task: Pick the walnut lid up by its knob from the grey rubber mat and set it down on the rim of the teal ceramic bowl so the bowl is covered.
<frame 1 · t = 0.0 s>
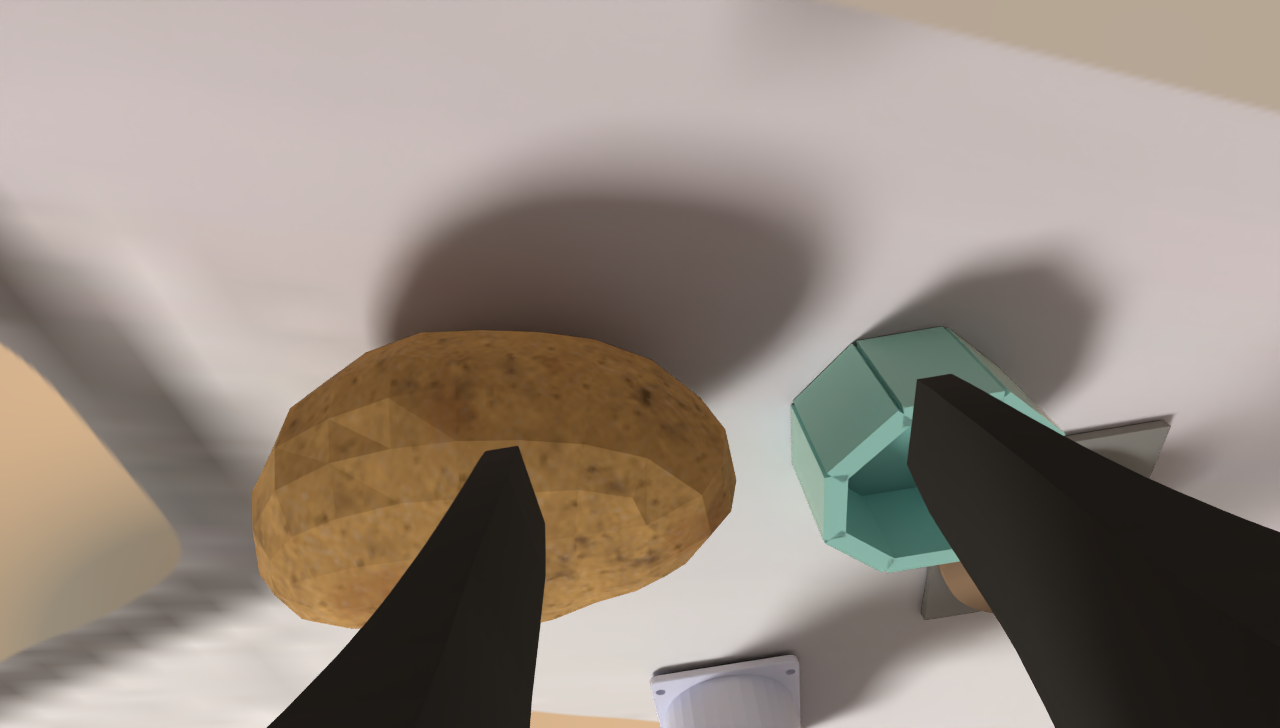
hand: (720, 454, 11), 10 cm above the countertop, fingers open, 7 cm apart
bowl: (891, 419, 24), on the countertop
potato: (519, 393, 23), on the countertop
lid: (1073, 583, 26), on the mat
mat: (1028, 527, 29), on the countertop
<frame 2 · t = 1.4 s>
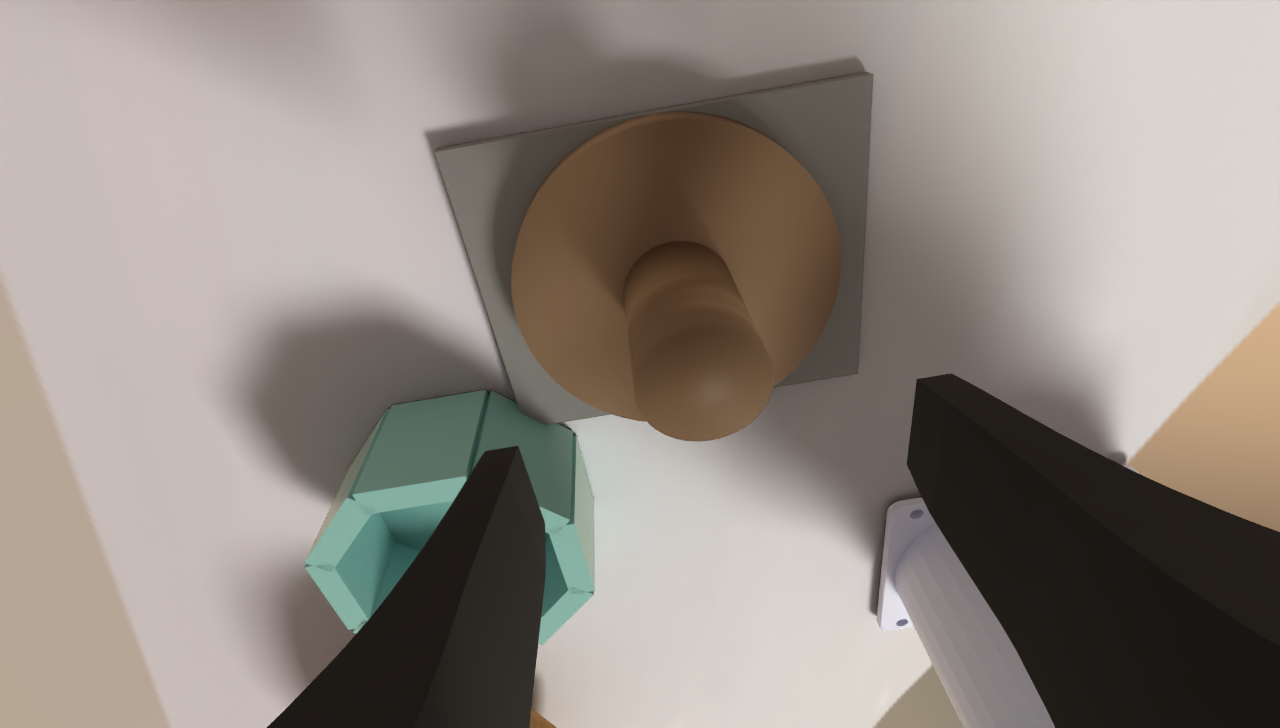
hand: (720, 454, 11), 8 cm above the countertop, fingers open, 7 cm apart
bowl: (475, 486, 22), on the countertop
lid: (686, 323, 15), on the mat
mat: (672, 271, 18), on the countertop
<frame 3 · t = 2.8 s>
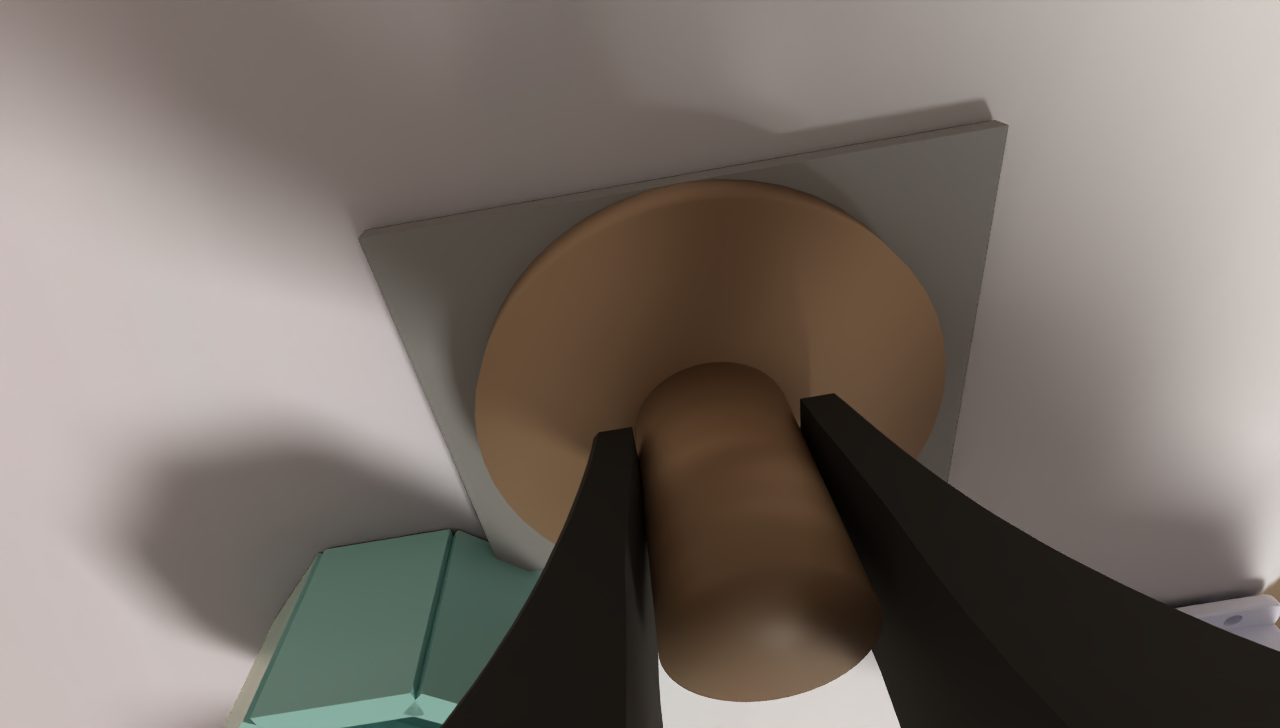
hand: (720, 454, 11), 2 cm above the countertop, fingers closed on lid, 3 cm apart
bowl: (441, 635, 17), on the countertop
lid: (730, 491, 10), on the mat, touching gripper
mat: (701, 385, 13), on the countertop
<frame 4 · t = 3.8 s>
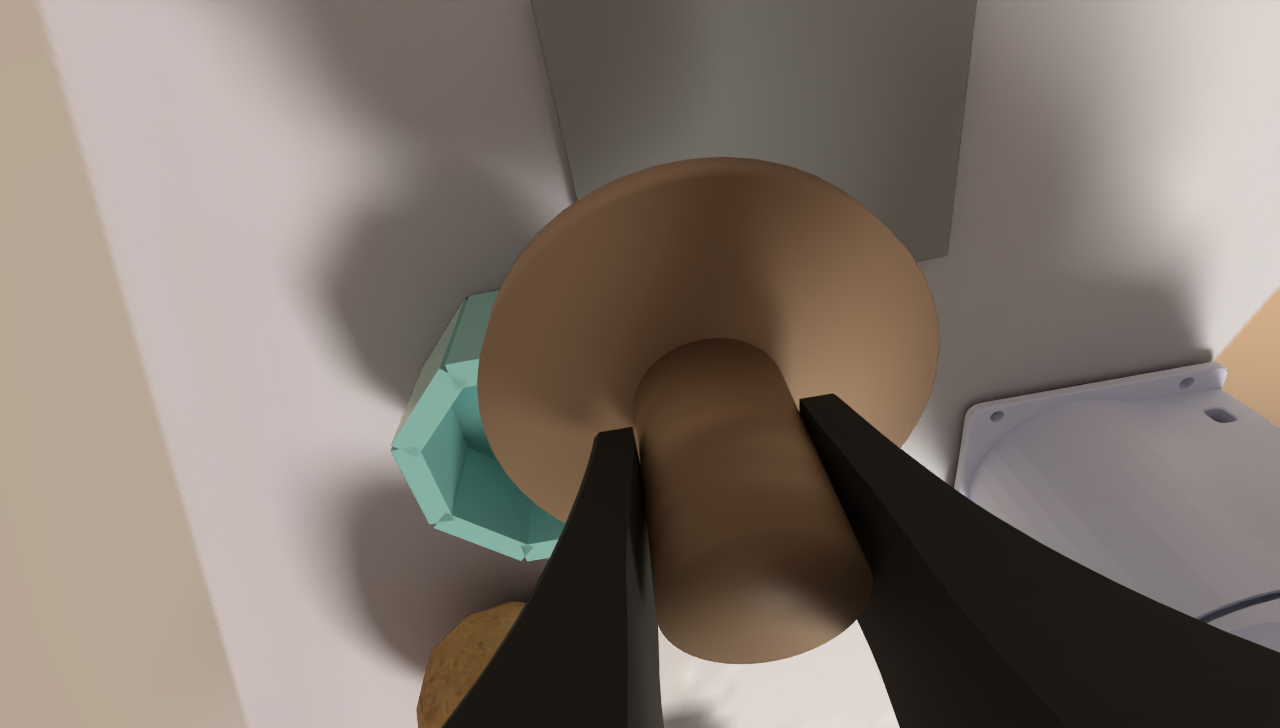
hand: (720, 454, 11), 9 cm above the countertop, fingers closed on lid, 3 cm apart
bowl: (548, 387, 22), on the countertop
potato: (540, 632, 30), on the countertop
lid: (726, 464, 11), point 10 cm above the countertop, touching gripper
mat: (763, 140, 18), on the countertop
when the fingers open (7 cm above the countertop, at t = 4.9 s): lid stays where it is, resting on bowl.
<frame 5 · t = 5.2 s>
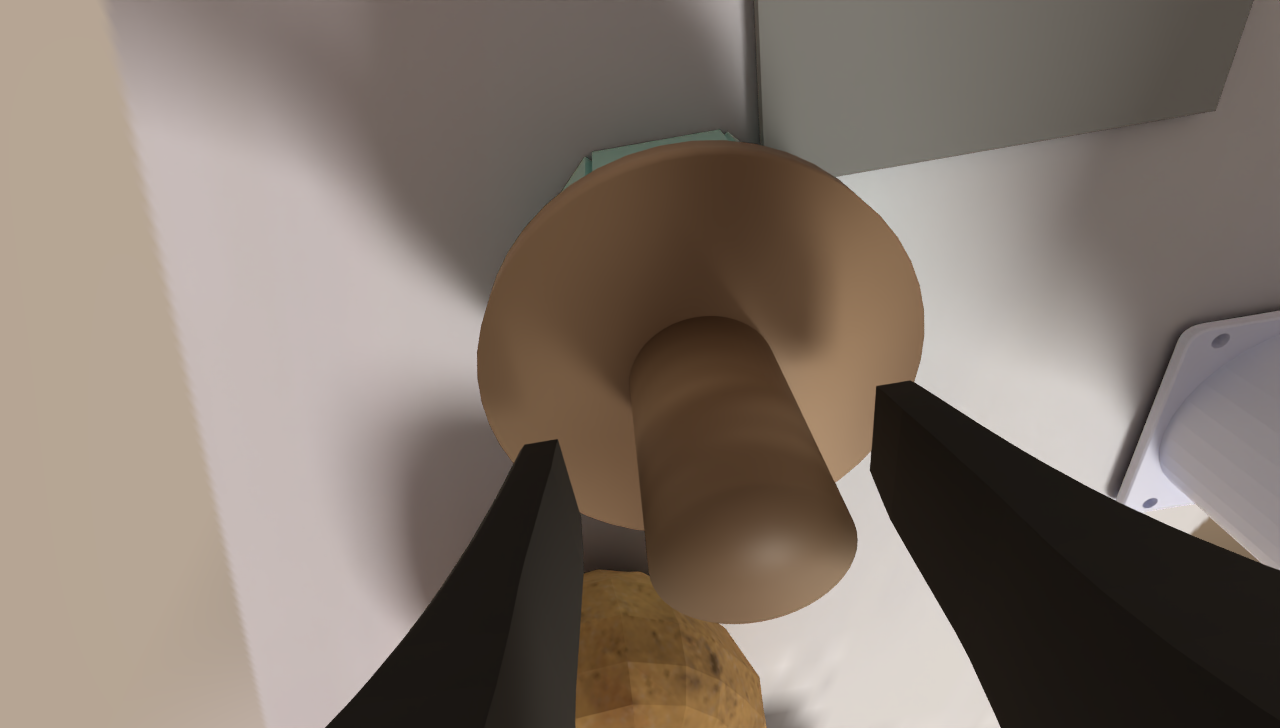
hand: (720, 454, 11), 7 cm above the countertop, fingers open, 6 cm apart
bowl: (675, 289, 17), on the countertop
potato: (618, 610, 25), on the countertop
lid: (718, 436, 11), on the bowl, point 7 cm above the countertop
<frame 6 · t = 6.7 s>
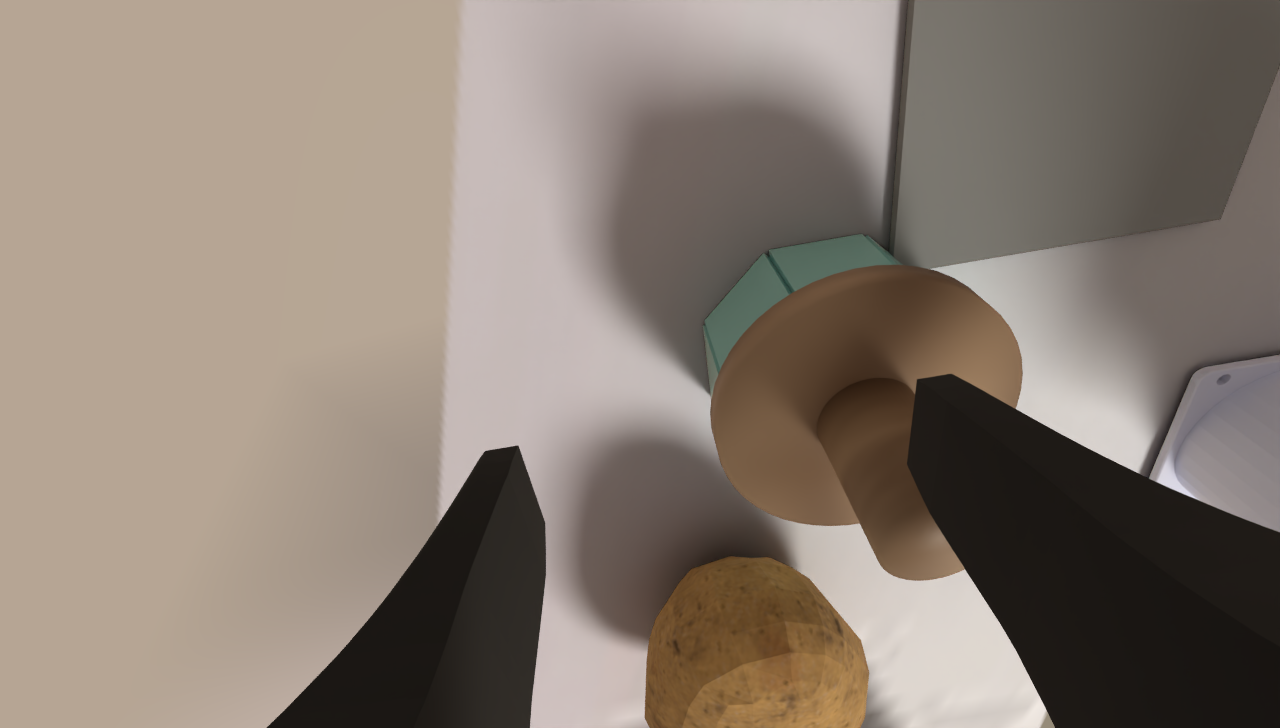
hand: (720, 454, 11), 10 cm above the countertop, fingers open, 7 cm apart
bowl: (814, 343, 23), on the countertop
potato: (731, 591, 31), on the countertop
lid: (891, 459, 17), on the bowl, point 7 cm above the countertop
mat: (1079, 103, 19), on the countertop
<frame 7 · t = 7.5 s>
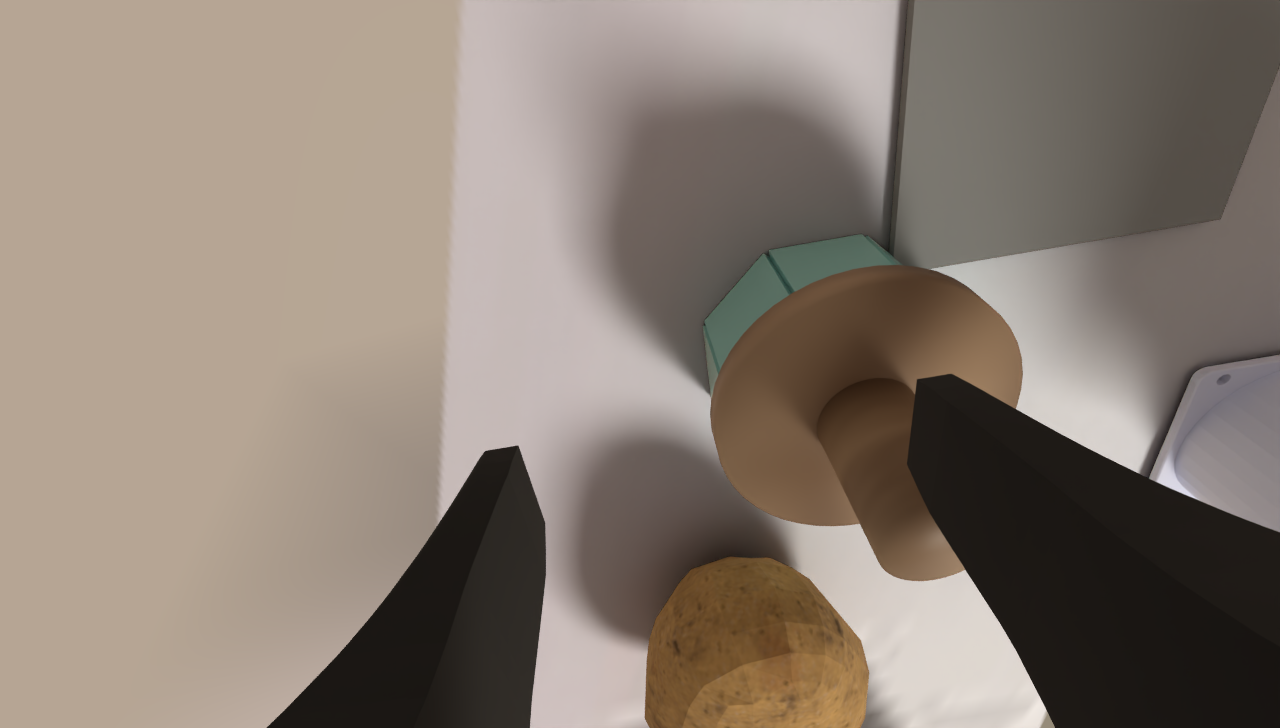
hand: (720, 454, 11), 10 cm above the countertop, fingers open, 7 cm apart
bowl: (814, 343, 23), on the countertop
potato: (731, 591, 31), on the countertop
lid: (891, 460, 17), on the bowl, point 7 cm above the countertop
mat: (1079, 103, 19), on the countertop
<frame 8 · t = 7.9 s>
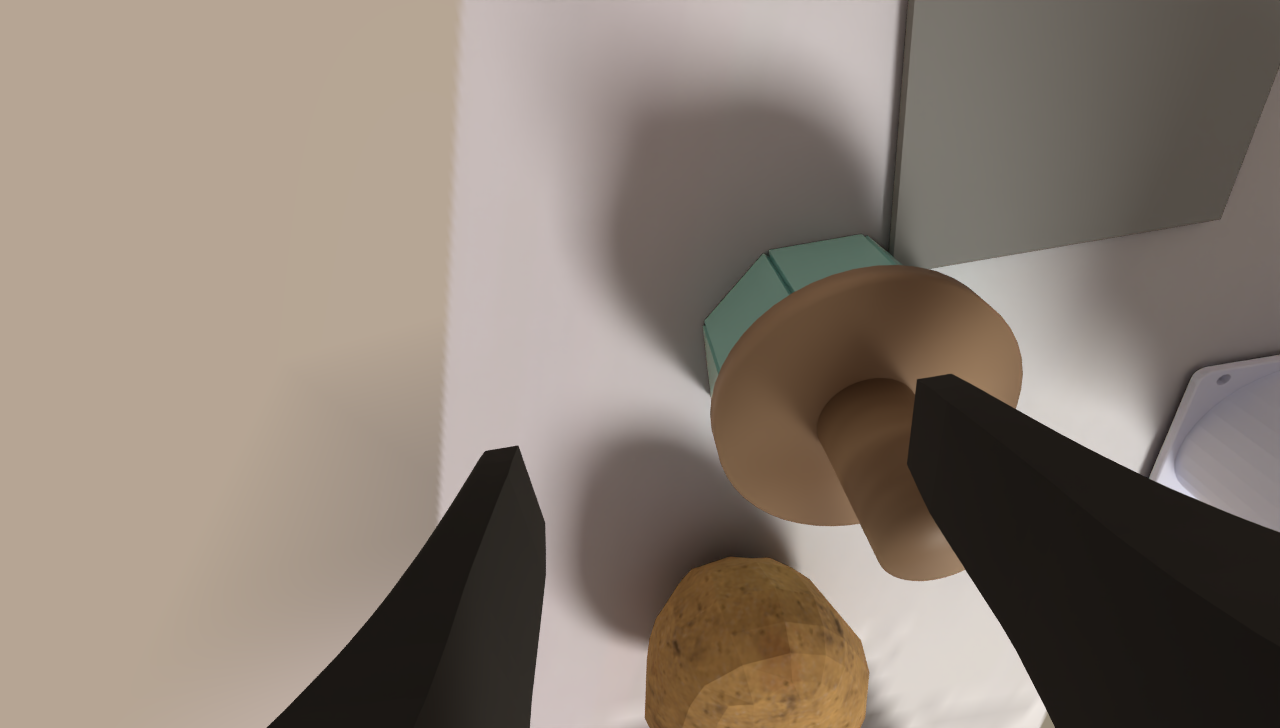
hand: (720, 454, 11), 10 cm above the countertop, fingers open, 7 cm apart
bowl: (814, 343, 23), on the countertop
potato: (731, 591, 31), on the countertop
lid: (891, 460, 17), on the bowl, point 7 cm above the countertop
mat: (1079, 103, 19), on the countertop
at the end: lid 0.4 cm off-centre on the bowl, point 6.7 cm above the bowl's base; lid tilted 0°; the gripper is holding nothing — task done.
